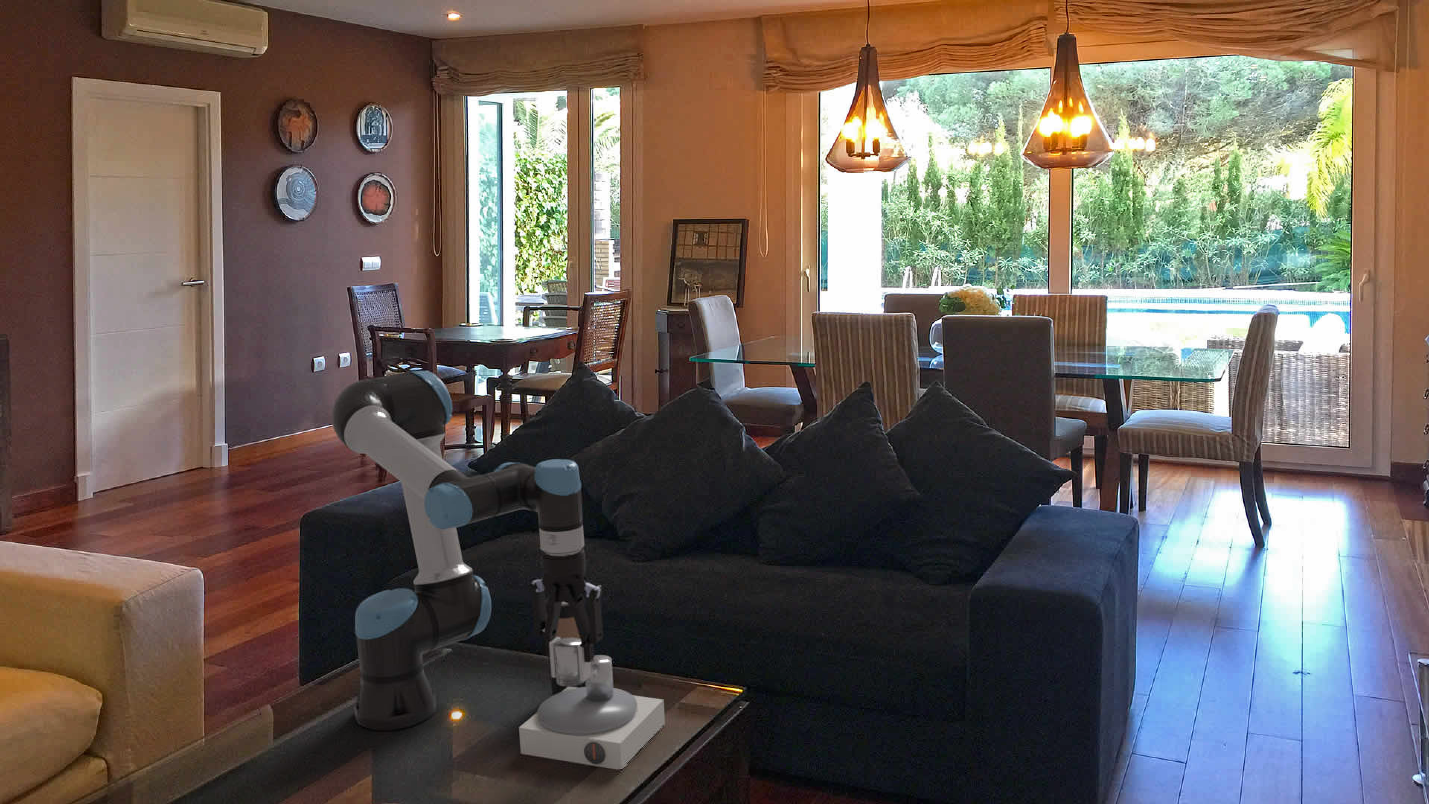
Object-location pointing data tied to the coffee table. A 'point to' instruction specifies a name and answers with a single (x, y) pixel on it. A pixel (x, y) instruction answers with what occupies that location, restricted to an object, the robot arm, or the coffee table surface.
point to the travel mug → (564, 630)
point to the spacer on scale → (600, 679)
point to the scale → (592, 728)
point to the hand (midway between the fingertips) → (571, 676)
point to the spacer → (567, 662)
